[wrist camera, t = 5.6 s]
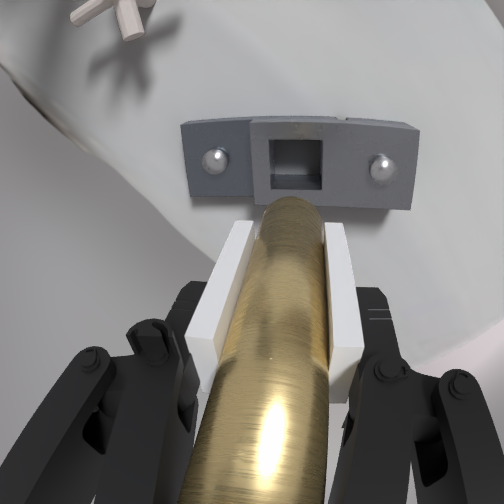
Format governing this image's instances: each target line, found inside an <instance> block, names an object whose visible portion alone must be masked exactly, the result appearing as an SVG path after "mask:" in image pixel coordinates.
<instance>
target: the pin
mask: <svg viewBox="0 0 504 504" xmlns="http://www.w3.org/2000/svg"><path fill="white" fill-rule="evenodd" d="M328 421H329V357H328V318H327V295H326V277H325V261H324V248H323V233H322V222H321V217H320V214H319V212H318V210H317V209H316V207H315V206H314V205H313V204H311V203H310V202H309V201H307V200H305V199H303V198H300V197H295V196H287V197H282V198H279V199H277V200H275V201H273V202H272V203H271V204H270V205H269V206H268V207H267V208H266V210H265V212H264V214H263V217H262V220H261V224H260V227H259V230H258V234H257V237H256V240H255V244H254V247H253V250H252V254H251V257H250V260H249V264H248V267H247V270H246V274H245V277H244V281H243V284H242V287H241V291H240V294H239V297H238V301H237V304H236V307H235V311H234V314H233V317H232V321H231V324H230V327H229V331H228V334H227V337H226V341H225V344H224V347H223V351H222V354H221V357H220V361H219V364H218V367H217V371H216V374H215V377H214V381H213V384H212V388H211V391H210V395H209V398H208V401H207V405H206V408H205V411H204V415H203V418H202V421H201V425H200V428H199V431H198V434H197V438H196V441H195V444H194V448H193V451H192V454H191V458H190V461H189V464H188V468H187V471H186V474H185V478H184V481H183V484H182V488H181V491H180V494H179V498H178V501H177V504H324V498H325V485H326V469H327V450H328V425H329V422H328Z"/></svg>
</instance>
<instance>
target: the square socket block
mask: <svg viewBox="0 0 504 504" xmlns="http://www.w3.org/2000/svg"><path fill="white" fill-rule="evenodd" d="M180 126H181V134H182V142H183V150H184V157H185V165H186V172H187V179H188V185H189V192H190V197H203V196H254V201H255V205H270V204H271V203H272V202H273V201H275V200H277V199H279V198H282V197H287V196H295V197H300V198H303V199H305V200H307V201H309V202H310V203H311V204H313V205H314V206H335V207H359V208H379V209H396V210H410V209H411V203H412V196H413V190H414V182H415V175H416V166H417V157H418V147H419V134H420V130H418V129H416V128H414V127H412V126H410V125H408V124H406V123H403V122H394V121H384V120H374V119H362V118H347V120H338V119H337V118H336V117H324V116H259V117H237V118H221V119H209V120H198V121H188V122H186V123H184V124H181V125H180ZM274 139H299V140H320V175H275V162H274Z"/></svg>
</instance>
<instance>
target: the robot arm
mask: <svg viewBox="0 0 504 504" xmlns="http://www.w3.org/2000/svg"><path fill="white" fill-rule="evenodd" d="M254 244H255V235H254V221H235V223H234V226H233V228H232V230H231V232H230V234H229V236H228V239H227V241H226V243H225V245H224V247H223V250H222V252H221V254H220V256H219V258H218V261H217V263H216V265H215V267H214V270H213V272H212V274H211V276H210V278H209V281H208V282H200V281H190V282H189V283H188V284H187V285H186V286H185V287H183V288H182V289H181V291H180V293H179V294H178V296H177V298H176V302H174V304H173V306H172V309H171V310H170V312H169V313H168V316H167V318H166V319H165V321H164V320H160V319H147V320H144V321H141V322H139V323H136V324H135V325H134V326H133V327H131V328H130V329H129V331H128V332H127V334H126V337H127V339H128V341H129V343H130V345H131V347H132V350H133V351H134V355H129V356H118V357H110V355H109V354H108V352H107V350H105V349H103V348H102V347H96V346H93V347H88V348H86V349H84V350H82V351H80V352H79V353H78V354H77V355H76V356H75V357H74V359H73V360H72V361H71V362H70V364H69V365H68V367H67V368H66V369H65V371H64V372H63V373H62V375H61V376H60V377H59V379H58V380H57V382H56V383H55V384H54V386H53V387H52V388H51V390H50V391H49V393H48V394H47V396H46V397H45V398H44V400H43V401H42V403H41V404H40V406H39V407H38V409H37V410H36V412H35V413H34V414H33V416H32V418H31V419H30V421H29V422H28V423H27V425H26V426H25V428H24V430H23V431H22V433H21V434H20V436H19V437H18V439H17V440H16V442H15V444H14V445H13V447H12V449H11V450H10V452H9V453H8V455H7V457H6V458H5V460H4V462H3V463H2V465H1V467H0V504H91V502H92V500H93V498H94V496H95V495H96V496H95V501H94V504H177V501H178V498H179V494H180V491H181V488H182V484H183V481H184V478H185V474H186V471H187V468H188V464H189V461H190V458H191V454H192V451H193V445H194V436H195V428H196V421H197V413H198V399H197V396H196V394H197V391H198V388H199V385H201V388H202V391H203V393H208V394H210V391H211V388H212V384H213V381H214V377H215V374H216V371H217V367H218V364H219V361H220V357H221V354H222V351H223V347H224V344H225V341H226V337H227V334H228V331H229V327H230V324H231V321H232V317H233V314H234V311H235V307H236V304H237V301H238V297H239V294H240V291H241V287H242V284H243V281H244V277H245V274H246V270H247V267H248V264H249V260H250V257H251V254H252V250H253V247H254ZM323 248H324V261H325V277H326V295H327V318H328V357H329V403H346V402H347V399H348V396H349V411H348V413H347V416H346V418H345V421H344V423H343V425H342V428H344V431H343V437H342V443H341V448H340V453H339V458H338V463H337V467H336V472H335V476H334V481H333V485H332V489H331V493H330V497H329V501H328V504H406V501H407V492H408V484H409V475H410V463H411V464H412V470H413V476H414V482H415V489H416V496H417V503H418V504H504V455H503V451H502V448H501V444H500V441H499V438H498V435H497V432H496V429H495V426H494V423H493V420H492V417H491V414H490V412H489V409H488V406H487V404H486V401H485V399H484V396H483V393H482V391H481V388H480V386H479V384H478V382H477V380H476V379H475V377H474V376H473V375H471V374H470V373H469V372H467V371H464V370H461V369H452V370H450V371H447V372H445V373H444V374H443V376H442V377H441V378H437V377H432V376H428V375H424V374H420V373H417V372H415V371H414V370H412V369H410V366H409V365H408V363H407V362H406V361H405V360H404V359H402V358H401V355H400V351H399V347H398V342H397V338H396V334H395V330H394V325H393V321H392V320H391V318H392V317H391V313H390V311H389V306H388V302H387V298H386V296H385V295H384V294H383V293H382V292H381V291H380V289H379V288H375V287H355V282H354V276H353V271H352V266H351V260H350V255H349V250H348V245H347V241H346V236H345V231H344V227H343V223H327V222H325V225H324V242H323Z"/></svg>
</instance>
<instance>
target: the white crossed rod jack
mask: <svg viewBox="0 0 504 504" xmlns="http://www.w3.org/2000/svg"><path fill="white" fill-rule="evenodd" d="M155 2H156V0H89V1H88V2H86V3H85V4H83V5H82V6H80V7H79V8H78V9H76V10H75V11H73V12H72V13H71V15H70V20H71V22H72V23H73V24H74V25H75V26H77V27H79V26H82V25H83V24H85V23H86V22H88V21H89V20H91V19H92V18H94V17H95V16H97V15H99V14H100V13H102V12H103V11H105V10H107V9H108V8H110V7H112V6H113V5H114V9H115V13H116V16H117V20H118V24H119V27H120V31H121V34H122V38H123V41H125V42H126V41H131V40H135V39H137V38H140V37H141V36H143V35H144V34H145V32H144V28H143V25H142V21H141V18H140V14H139V11H138V7H137V6H140V7H143V8H149V7H151V6H153V5H154V4H155Z"/></svg>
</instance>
